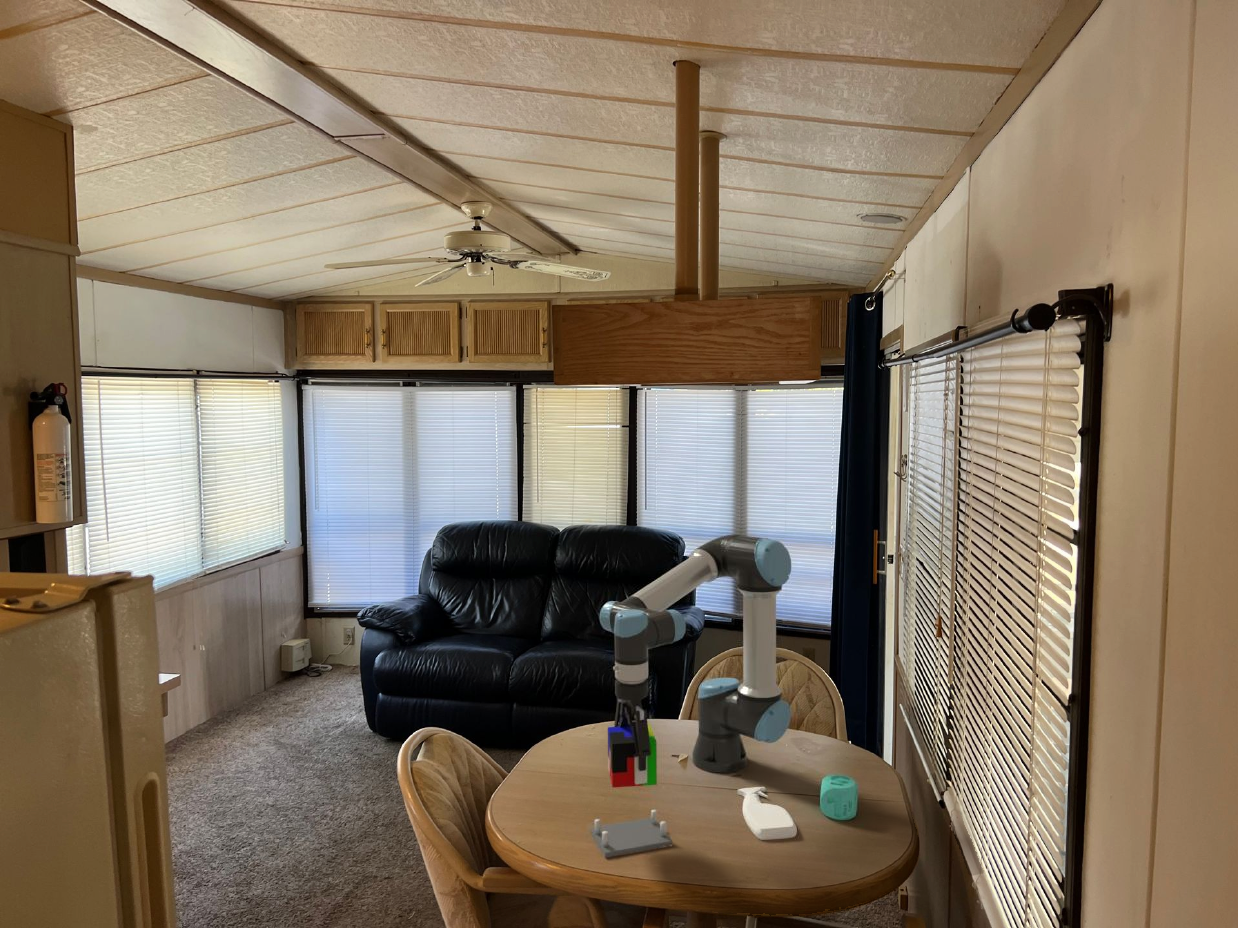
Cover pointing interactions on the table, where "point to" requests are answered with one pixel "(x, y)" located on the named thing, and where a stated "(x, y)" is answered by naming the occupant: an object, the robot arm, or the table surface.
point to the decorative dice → (839, 797)
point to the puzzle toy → (628, 757)
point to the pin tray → (630, 836)
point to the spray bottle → (766, 816)
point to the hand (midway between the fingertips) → (632, 772)
